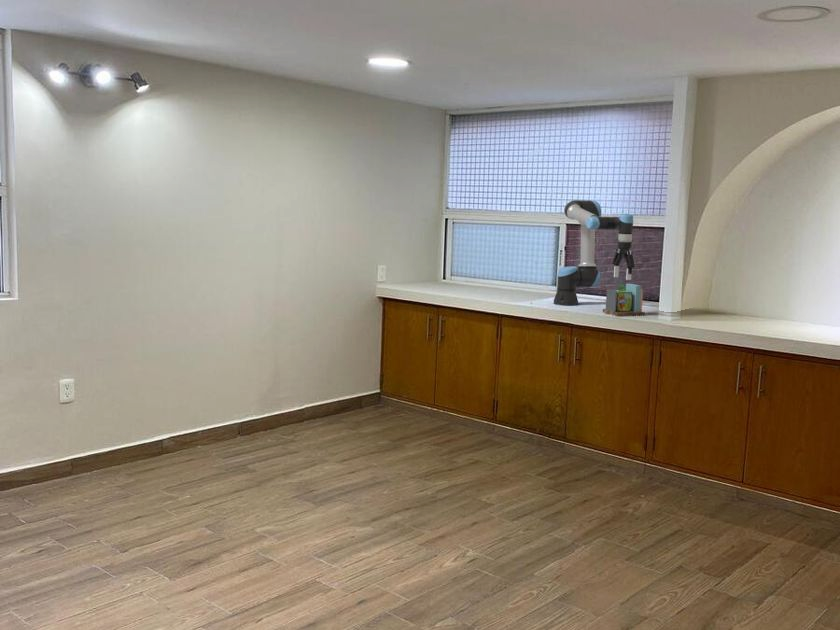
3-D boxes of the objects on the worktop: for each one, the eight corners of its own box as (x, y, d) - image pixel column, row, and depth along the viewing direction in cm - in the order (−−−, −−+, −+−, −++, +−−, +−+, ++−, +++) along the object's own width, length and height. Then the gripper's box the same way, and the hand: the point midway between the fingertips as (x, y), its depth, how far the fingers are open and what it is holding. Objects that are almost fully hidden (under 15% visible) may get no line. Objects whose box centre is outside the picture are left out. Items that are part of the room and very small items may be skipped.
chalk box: (616, 311, 460) (618, 286, 458) (609, 309, 469) (611, 284, 466) (631, 311, 462) (633, 286, 460) (624, 309, 471) (625, 284, 469)
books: (624, 309, 472) (626, 283, 470) (631, 309, 474) (633, 283, 471) (634, 311, 462) (636, 285, 460) (642, 311, 463) (643, 285, 461)
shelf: (602, 312, 471) (602, 308, 471) (629, 311, 476) (629, 308, 476) (616, 316, 456) (616, 312, 456) (644, 315, 461) (644, 312, 461)
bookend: (605, 309, 468) (606, 289, 466) (606, 309, 468) (608, 289, 467) (614, 312, 459) (615, 291, 457) (615, 312, 459) (617, 291, 457)
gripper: (607, 239, 470) (605, 276, 474) (630, 243, 447) (628, 281, 450) (619, 239, 472) (616, 275, 476) (642, 243, 449) (639, 281, 452)
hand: (622, 278), depth 463 cm, fingers open, 13 cm apart
